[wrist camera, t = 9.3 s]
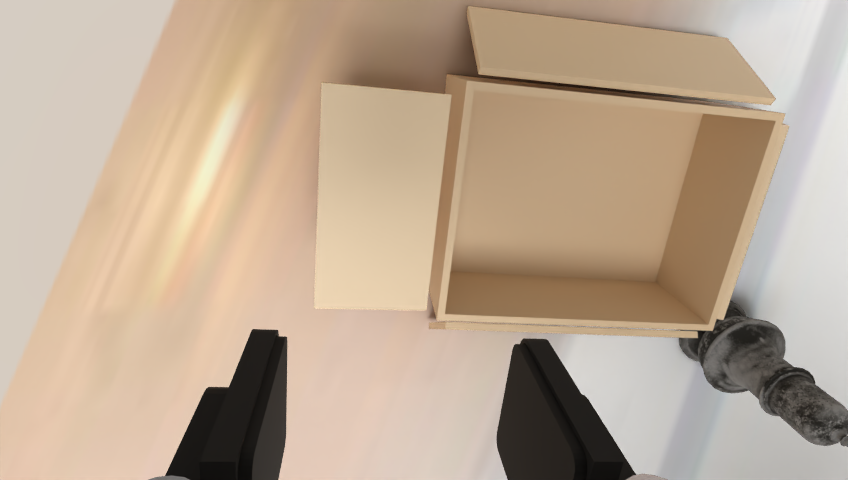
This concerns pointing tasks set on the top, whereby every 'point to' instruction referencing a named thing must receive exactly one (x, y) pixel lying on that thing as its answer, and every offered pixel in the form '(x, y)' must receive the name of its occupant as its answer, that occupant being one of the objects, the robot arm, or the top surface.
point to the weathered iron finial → (766, 375)
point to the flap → (378, 196)
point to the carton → (598, 179)
